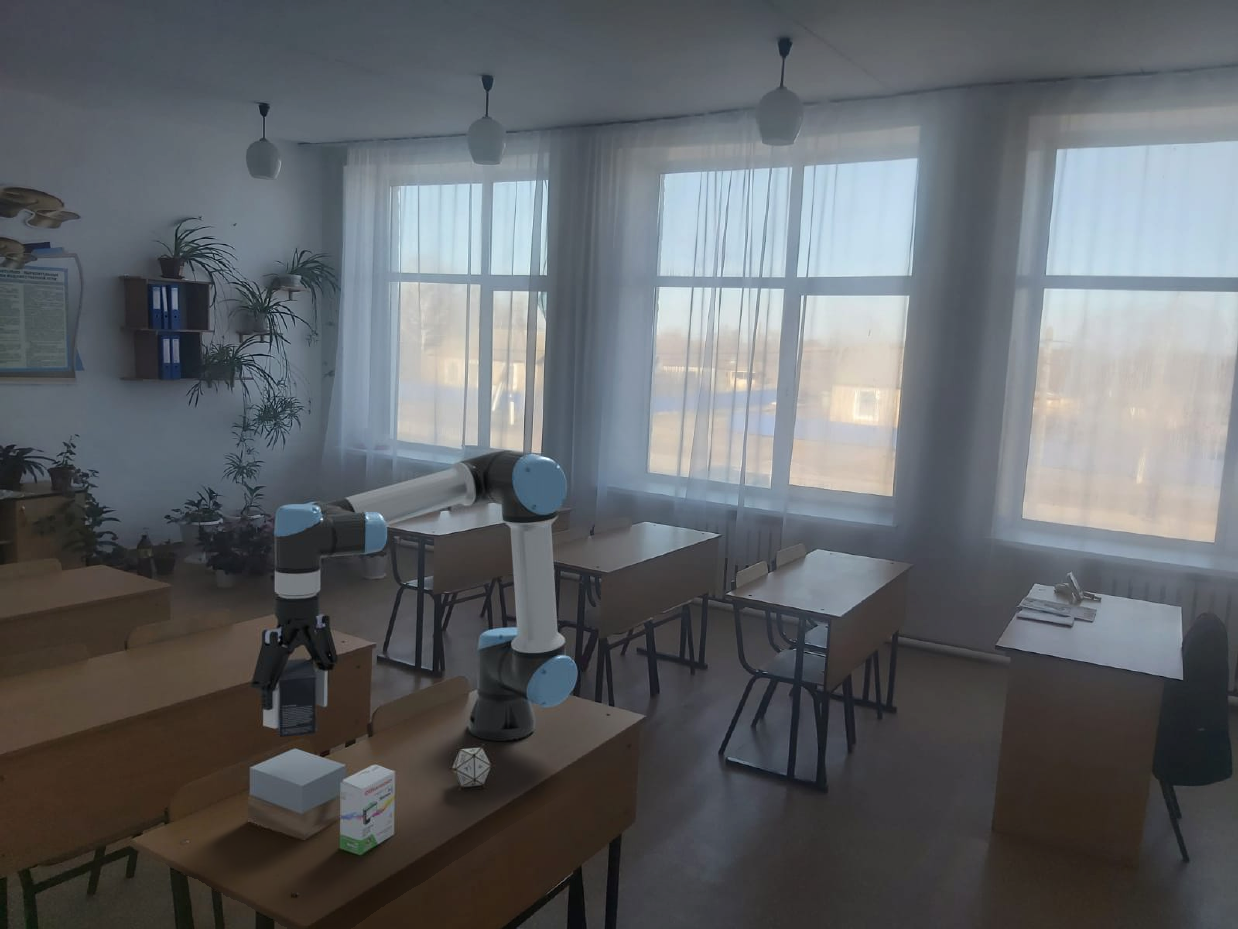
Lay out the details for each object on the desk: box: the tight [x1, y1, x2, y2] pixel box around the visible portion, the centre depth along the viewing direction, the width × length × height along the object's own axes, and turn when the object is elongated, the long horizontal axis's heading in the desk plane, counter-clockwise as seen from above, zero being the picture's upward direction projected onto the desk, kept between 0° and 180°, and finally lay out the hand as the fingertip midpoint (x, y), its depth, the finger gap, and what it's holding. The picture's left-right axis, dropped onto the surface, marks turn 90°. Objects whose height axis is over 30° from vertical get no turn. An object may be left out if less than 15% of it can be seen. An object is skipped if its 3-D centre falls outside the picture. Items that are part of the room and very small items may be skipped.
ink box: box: [339, 764, 396, 856], centre depth 152 cm, size 8×5×12 cm, turn 153°
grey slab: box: [249, 748, 347, 814], centre depth 159 cm, size 10×13×5 cm
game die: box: [447, 743, 496, 792], centre depth 175 cm, size 9×8×10 cm
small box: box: [275, 657, 318, 738], centre depth 157 cm, size 11×6×10 cm, turn 23°
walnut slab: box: [247, 795, 340, 841], centre depth 160 cm, size 10×13×5 cm
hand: (296, 715), depth 158 cm, fingers closed on small box, 11 cm apart
